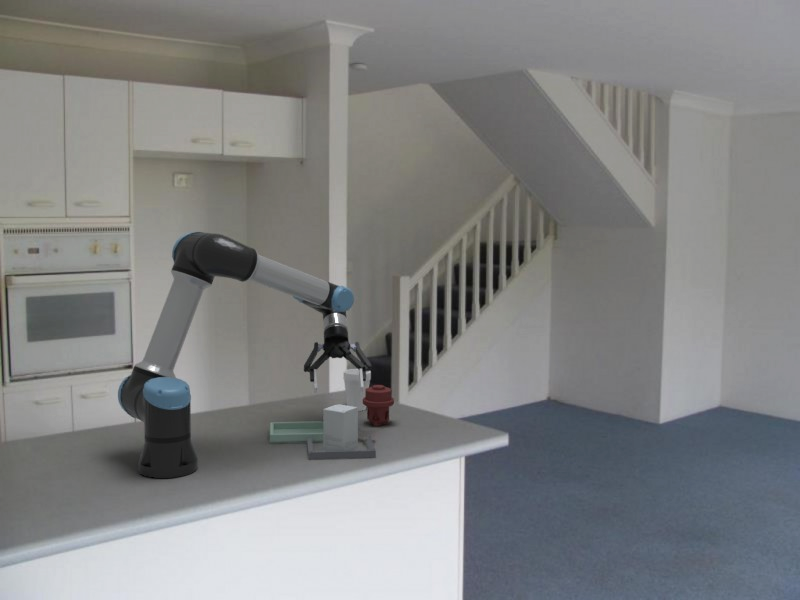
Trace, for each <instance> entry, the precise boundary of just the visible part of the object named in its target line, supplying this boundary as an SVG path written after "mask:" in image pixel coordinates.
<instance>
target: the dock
mask: <svg viewBox="0 0 800 600" xmlns="http://www.w3.org/2000/svg"><path fill="white" fill-rule="evenodd" d="M365 444H366V447H367V449H358V450H337V451H323V450H314V448H313V443H312V438H307V443H306V445H307V446H306V447H307V454H308V460H309V459H314V460H338V459H339V458H349V459H370V458H369V457H376V453H377V451H376V448H375V445H374V442H373V441H372V438H371V436H370V435H366V436H365ZM363 457H365V458H363ZM339 460H340V459H339Z"/></svg>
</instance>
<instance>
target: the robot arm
mask: <svg viewBox="0 0 800 600" xmlns="http://www.w3.org/2000/svg"><path fill="white" fill-rule="evenodd" d="M171 257H172V259H173V265H172V267H171V270H170V272H171V275H172V277H173V280H172V281H173V282H172V283H171V286H170V288H169V291H168V294H167V297H166V299H165V302H164V304H163V307H162V309H161V312H160V315H159V318H158V320H157V323H156V325H155V328H154V330H153V333H152V336H151V338H150V341H149V343H148V346H147V348H146V351H145V354H144V357H143V358H142V360H141V361H139V362H137V363H136V364H134V366H133V369H132V372H131V374H129V375H128V376H126V377H125V378H124V379H123V380H122V381H121V383H120V384H119V386H118V390H117V398H118V399H117V400H118V404H119V405H120V407H121V409H122V410H123V411H124V412H125V413H126V414H128V415H129V416H130V417H132V418H134V419H137V420H138V421H139V420H140V421H141V422H143V425H144V427H143V429H144V433H143V434H144V443H143V446H142V449H141V452H140V453H141V454H139V458H138V462H137V472H138V474H139V473H140V474H139V475H141V474H142V475H141V476H143V475H144V476H143V477H146V476H148V477H147V478H151V477H154V478H153V479H171V478H179V477H184V476H187V475H190V474H192V472H193V473H195V472H196V471H197V470H198V469H199V458H198V455H197V453H196V450H195V447H194V444H193V442H192V438H191V437H192V433H191V432H192V431H191V430H192V429H191V428H192V427H191V425H192V424H191V423H192V422H191V419H192V417H191V415H192V413H191V408H192V407H191V402H192V401H191V400H192V395H191V389H190V385H189V384H188V383H187V382H186V381H185V380H183V379H181V378H177V377H176V374H175V373H174V369H175V367H176V365H177V362H178V359H179V356H180V353H181V351H182V349H183V346H184V342H185V340H186V338H187V335H188V333H189V330H190V327H191V324H192V322H193V319H194V316H195V315H196V311H197V309H198V305H199V303H200V301H201V298H202V296H203V293H204V291H205V290H206V289H208V288H210V287H212V284H213V282H214V279H215V277H218V278H219V277H220V278H227V279H232V280H237V281H239V282H242V283H245V282H247V281H250V282H251V283H252V282H253V283H255V284H258V285H260V286H264V287H265V288H266V287H267V288H269V289H273V290H274V291H277V292H281V293H283V294H286V295H289V296H292V297H293V298H294V300H297V301H298V303H301V304H304V305H306V306H307V307H309V308H311V309H312V310H315V311H316V312H318V313H320V314H322V322H323V343H322V344H321V343H318V341H316V342H314V343H313V349H312V350H311V351H310V352H311V353H310V354H309V356H308V358H307V359H306V361H305V363H304V364H303V372H304V373H307V372H308V373H309V382H311V383H313V392H314V393H315V394H316V393H318V373H317V370H318V369H319V368H320V367H321V366H322V365H323V364H324V363H325V362H326V361H328V359H330V358H331V359H342V358H344V359H345V360H347V361H348V362H350V363H351V364H352V365H353V366H354V367H355V369H359V381H360V392H363V381H366V371H372V363H371V361H370V360H369V359H368V357H367V356H366V354H365V353H364V351H363V350H362V348H361V347H360V343H359V341H356V342H354V343H352V344H351V343H350V342H349V331H348V330H349V329H348V318H347V317H348V315H347V313H348V312H347V311H349V310H350V309H352V307H353V305H354V302H355V296H354V292H353V290H351V288H349V287H346V286H344V285H338V284H334V283H333V282H330V281H327V280H324V279H321V278H320V277H316V276H314V275H312V274H310V273H306V272H304V271H301V270H300V269H297V268H294V267H291V266H288V265H286V264H283V263H281V262H278V261H276V260H273V259H271V258H268V257H267V256H264V255H263V256H262V255H260V254H258V250H257V249H255V248H253V247H250V246H249V245H246V244H243V243H241V242H240V241H237V240H235V239H233V238H230V237H228V236H226V235H224V234H220V233H209V232H203V231H193V232H188V233H185V234H183V235H182V236H180V237H179V238H178V239H177V240H176V241H175V243H174V245H173V247H172V252H171ZM321 350H322V351H323V352H322V354H321V355H320V356H319V357H318V358H317V359H316V357H317V355H318V353H319V352H320V351H321ZM351 350H352V351H353V352H355V354H356V356H357V357H358V358H357V357H356V356H355V355H354V354H353V353H352V352H351ZM315 359H316V360H315ZM314 360H315V362H314Z"/></svg>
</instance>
